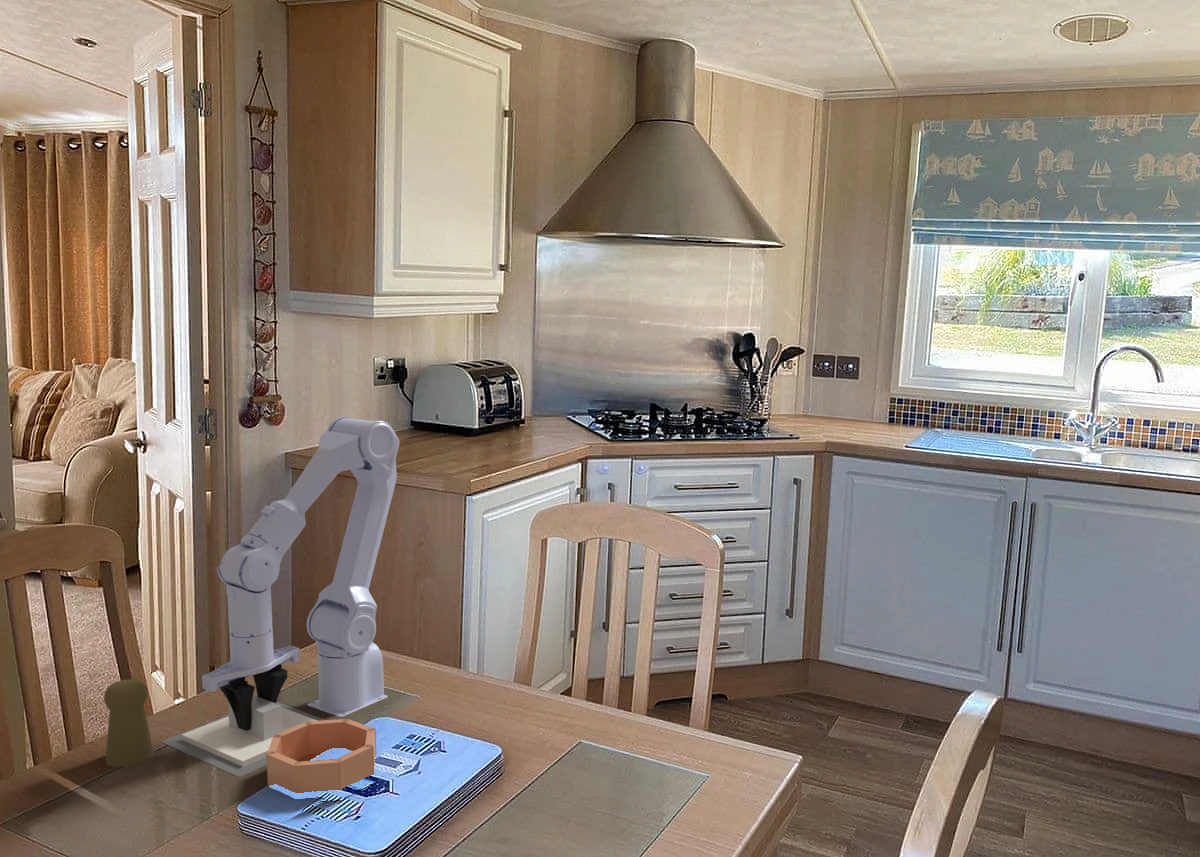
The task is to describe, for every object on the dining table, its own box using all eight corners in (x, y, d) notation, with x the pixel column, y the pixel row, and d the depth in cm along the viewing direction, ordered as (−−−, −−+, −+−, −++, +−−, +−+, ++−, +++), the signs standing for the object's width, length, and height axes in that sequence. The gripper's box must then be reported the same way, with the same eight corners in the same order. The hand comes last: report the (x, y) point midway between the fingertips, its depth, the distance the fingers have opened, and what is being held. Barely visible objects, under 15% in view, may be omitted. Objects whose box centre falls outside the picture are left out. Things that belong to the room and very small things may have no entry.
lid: (266, 706, 150) (265, 676, 150) (328, 729, 142) (326, 697, 142) (181, 739, 139) (180, 707, 139) (243, 767, 131) (241, 732, 131)
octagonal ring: (330, 746, 139) (329, 711, 138) (396, 771, 131) (395, 735, 130) (249, 783, 128) (247, 746, 127) (316, 813, 120) (314, 774, 120)
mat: (269, 703, 153) (269, 699, 153) (348, 732, 143) (348, 728, 143) (160, 745, 139) (160, 741, 139) (239, 781, 128) (239, 777, 128)
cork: (135, 773, 131) (130, 693, 129) (94, 769, 132) (89, 689, 130) (164, 753, 136) (159, 676, 135) (125, 749, 138) (120, 672, 136)
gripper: (276, 612, 147) (280, 700, 149) (187, 639, 135) (192, 734, 137) (307, 621, 143) (311, 711, 145) (218, 650, 131) (222, 748, 133)
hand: (255, 724), depth 141 cm, fingers closed on lid, 3 cm apart
